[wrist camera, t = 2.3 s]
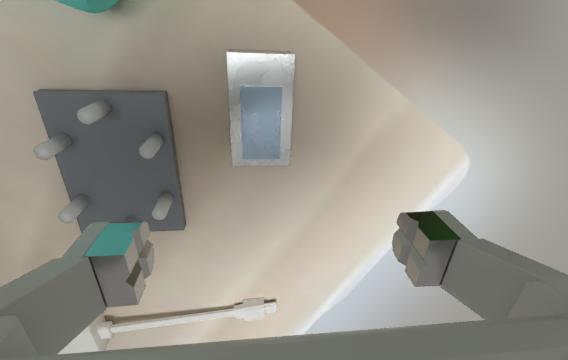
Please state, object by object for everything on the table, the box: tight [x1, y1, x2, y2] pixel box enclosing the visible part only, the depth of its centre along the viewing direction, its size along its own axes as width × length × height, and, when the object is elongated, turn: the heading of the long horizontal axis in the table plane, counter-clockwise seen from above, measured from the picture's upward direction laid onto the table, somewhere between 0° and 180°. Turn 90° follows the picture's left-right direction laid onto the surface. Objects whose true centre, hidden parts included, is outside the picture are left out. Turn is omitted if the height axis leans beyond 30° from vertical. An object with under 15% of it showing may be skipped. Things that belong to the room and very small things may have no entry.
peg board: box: [33, 90, 186, 233], centre depth 26 cm, size 14×10×4 cm
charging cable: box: [58, 298, 277, 354], centre depth 36 cm, size 5×32×3 cm, turn 91°
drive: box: [226, 49, 295, 166], centre depth 25 cm, size 9×5×4 cm, turn 177°
